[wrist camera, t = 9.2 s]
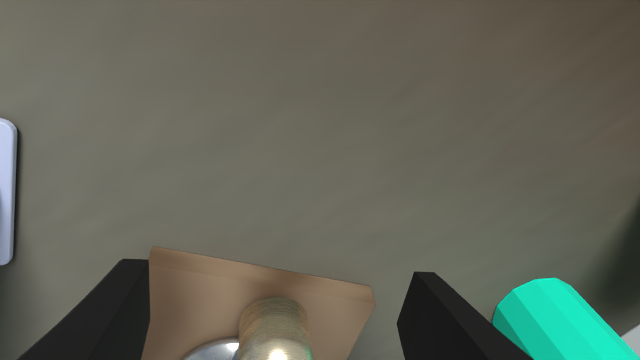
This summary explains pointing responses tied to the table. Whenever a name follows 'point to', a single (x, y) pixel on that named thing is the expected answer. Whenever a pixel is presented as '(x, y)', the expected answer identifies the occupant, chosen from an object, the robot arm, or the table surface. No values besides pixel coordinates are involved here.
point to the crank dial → (263, 335)
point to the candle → (557, 324)
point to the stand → (243, 303)
